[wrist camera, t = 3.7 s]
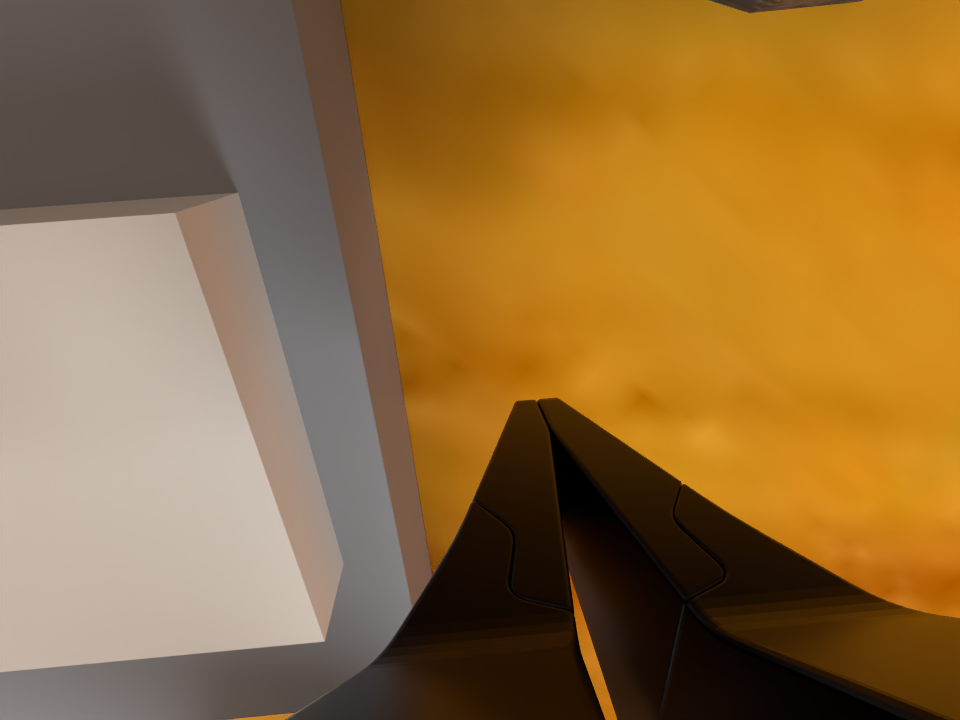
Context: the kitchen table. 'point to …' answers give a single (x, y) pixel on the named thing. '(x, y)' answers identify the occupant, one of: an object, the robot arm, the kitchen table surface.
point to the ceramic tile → (150, 442)
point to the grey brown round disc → (776, 4)
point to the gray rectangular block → (286, 275)
